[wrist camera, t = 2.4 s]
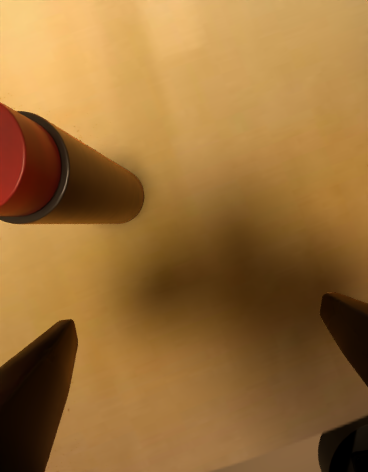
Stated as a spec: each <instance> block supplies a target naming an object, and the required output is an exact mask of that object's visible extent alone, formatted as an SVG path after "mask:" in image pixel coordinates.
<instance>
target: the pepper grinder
mask: <svg viewBox="0 0 368 472" xmlns="http://www.w3.org/2000/svg"><path fill="white" fill-rule="evenodd" d="M143 200H144V192H143V187H142V185H141V183H140V181H139V179H138V178H137V177H136V176H135V175H134V174H133V173H131V172H130V171H128V170H126V169H125V168H123V167H122V166H120V165H118V164H117V163H115V162H113V161H112V160H110V159H109V158H107V157H105V156H104V155H102V154H101V153H99V152H97V151H96V150H94V149H92V148H91V147H89V146H88V145H86V144H84V143H83V142H81V141H80V140H78V139H76V138H75V137H73V136H71V135H70V134H68V133H67V132H65V131H63V130H62V129H60V128H59V127H57V126H55V125H54V124H52V123H50V122H49V121H47V120H46V119H44V118H42V117H40V116H38V115H36V114H33V113H30V112H24V111H15V110H13V109H11V108H10V107H8V106H6V105H4V104H3V103H1V102H0V220H2V221H4V222H8V223H12V224H120V223H125V222H128V221H130V220H131V219H133V218H134V217H135V216H136V215H137V214H138V213H139V211H140V210H141V207H142V205H143Z"/></svg>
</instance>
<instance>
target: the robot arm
mask: <svg viewBox="0 0 368 472" xmlns="http://www.w3.org/2000/svg"><path fill="white" fill-rule="evenodd" d="M320 316H321V319H322V320H323V322H324V324H325V325H326V327H327V329H328V330H329V332H330V333H331V335H332V337H333V338H334V340H335V341H336V343H337V345H338V346H339V348H340V350H341V351H342V353H343V354H344V356H345V357H346V358H347V360H348V361H349V363H350V364H351V365H352V367H353V368H354V369H355V371H356V372H357V373H358V375H359V376H360V377H361V379H362V380H363V381H364V383H365V384H366V385H367V387H368V304H367V303H364V302H362V301H359V300H356V299H353V298H350V297H348V296H345V295H342V294H339V293H336V292H332V293H325V294H324V295H323V297H322V302H321V307H320ZM77 347H78V338H77V333H76V328H75V324H74V321H73V320H72V319H69V320H61V321H59V322H57V323H56V324H55V325H53V326H52V327H51V328H49V329H48V330H47V331H46V332H44V333H43V334H42V335H41V336H39V337H38V338H37V339H36V340H34V341H33V342H32V343H30V344H29V345H28V346H27V347H25V348H24V349H23V350H22V351H20V352H19V353H18V354H16V355H15V356H14V357H13V358H11V359H10V360H9V361H8V362H6V363H5V364H4V365H2V366H1V367H0V472H45V468H46V465H47V462H48V459H49V455H50V452H51V449H52V446H53V442H54V439H55V436H56V433H57V429H58V426H59V423H60V420H61V416H62V413H63V410H64V407H65V403H66V400H67V396H68V393H69V388H70V384H71V378H72V373H73V368H74V363H75V358H76V352H77ZM358 458H359V459H358ZM357 459H358V460H357ZM351 460H352V464H353V468H354V472H368V450H363V451H356V452H353V453H352V454H351Z"/></svg>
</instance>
